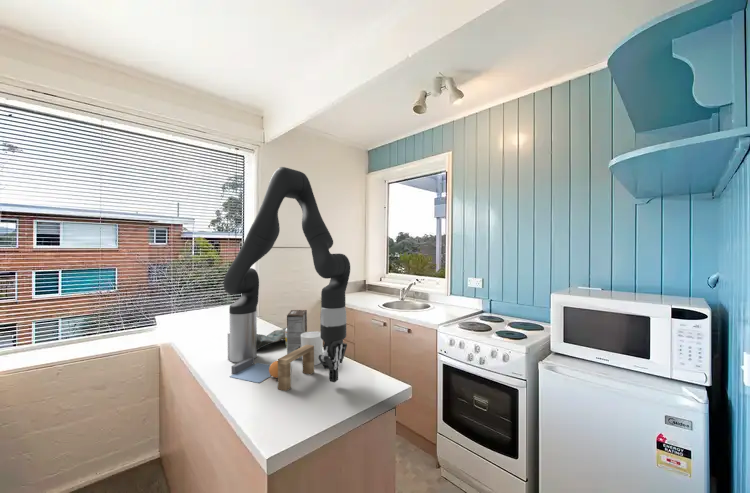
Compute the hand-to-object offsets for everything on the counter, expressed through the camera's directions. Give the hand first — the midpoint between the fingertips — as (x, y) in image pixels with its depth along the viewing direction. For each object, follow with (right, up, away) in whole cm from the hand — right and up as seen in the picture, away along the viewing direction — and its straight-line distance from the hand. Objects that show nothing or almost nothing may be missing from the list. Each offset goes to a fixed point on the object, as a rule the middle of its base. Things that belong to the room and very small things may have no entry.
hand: (333, 380), depth 88 cm
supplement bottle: (-22, -2, +37) cm, 43 cm away
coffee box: (-18, -2, +28) cm, 33 cm away
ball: (-19, 0, +7) cm, 20 cm away
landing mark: (-26, -2, +11) cm, 28 cm away
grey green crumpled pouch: (-30, -3, +41) cm, 50 cm away
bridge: (-12, -2, +5) cm, 13 cm away
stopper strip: (-32, -2, +13) cm, 35 cm away
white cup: (-10, -2, +19) cm, 22 cm away
